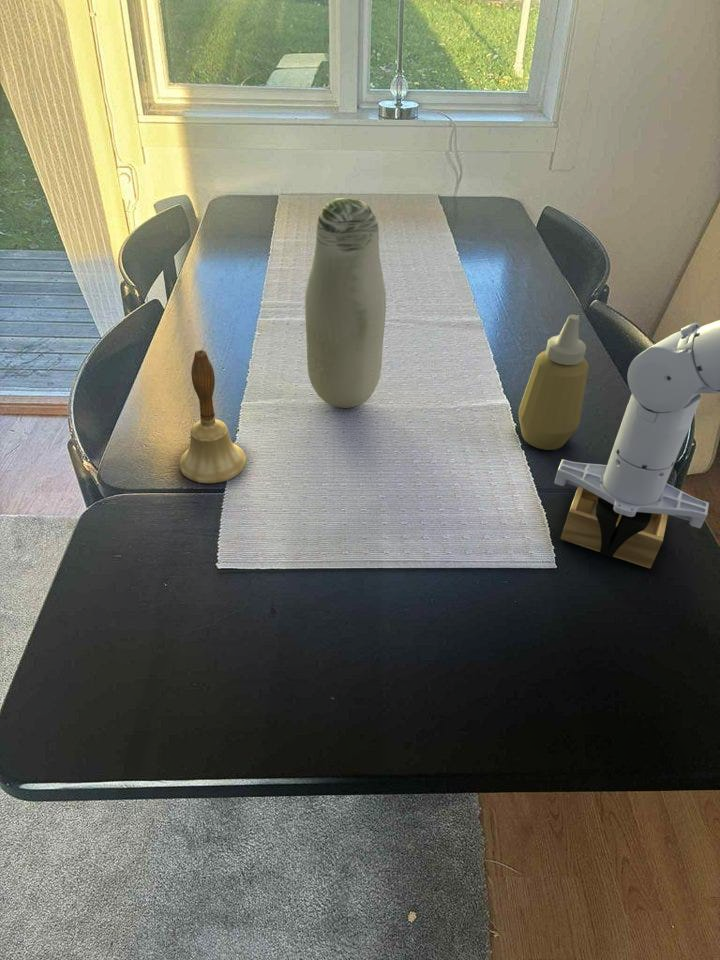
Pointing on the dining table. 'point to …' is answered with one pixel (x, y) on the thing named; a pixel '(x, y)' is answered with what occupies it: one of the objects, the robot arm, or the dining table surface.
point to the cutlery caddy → (587, 531)
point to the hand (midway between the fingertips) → (607, 549)
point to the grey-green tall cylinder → (345, 304)
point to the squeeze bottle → (555, 390)
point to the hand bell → (209, 434)
